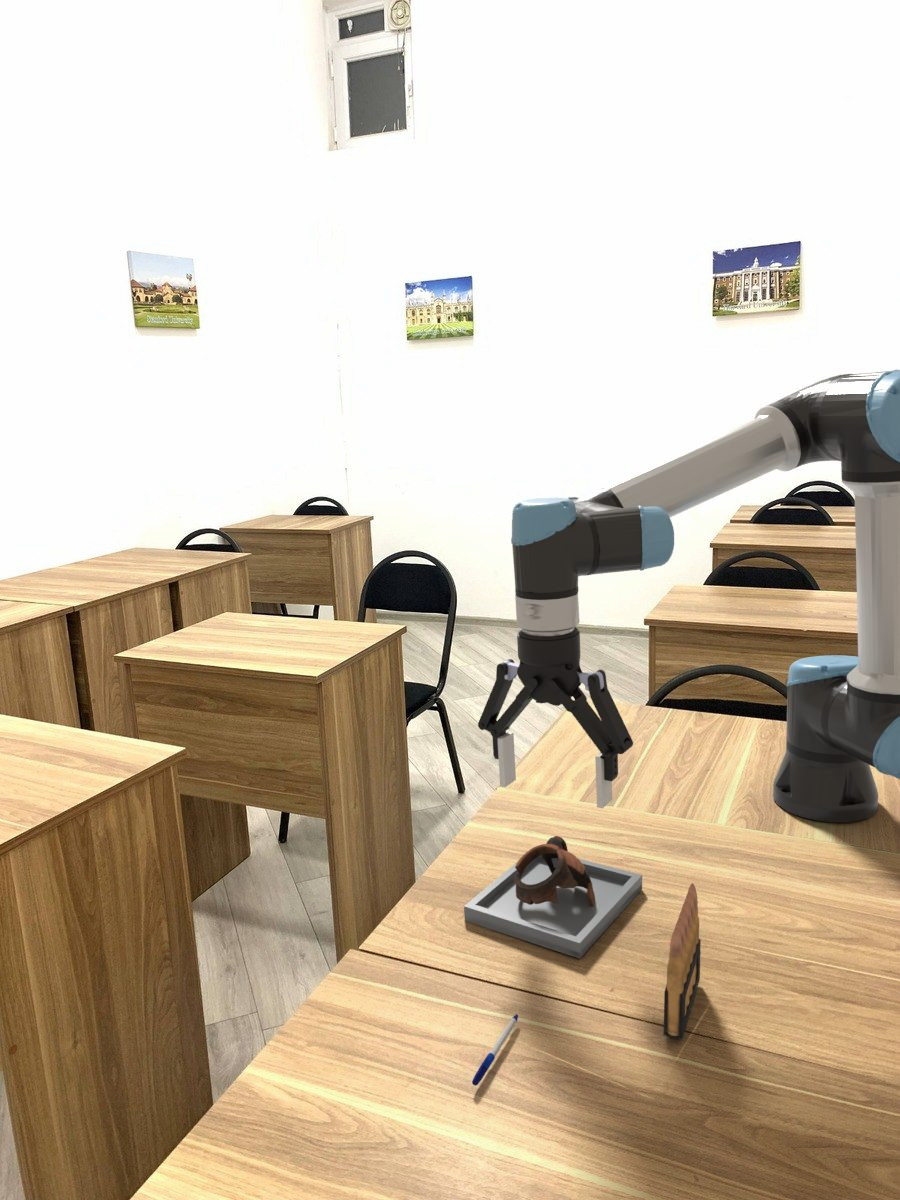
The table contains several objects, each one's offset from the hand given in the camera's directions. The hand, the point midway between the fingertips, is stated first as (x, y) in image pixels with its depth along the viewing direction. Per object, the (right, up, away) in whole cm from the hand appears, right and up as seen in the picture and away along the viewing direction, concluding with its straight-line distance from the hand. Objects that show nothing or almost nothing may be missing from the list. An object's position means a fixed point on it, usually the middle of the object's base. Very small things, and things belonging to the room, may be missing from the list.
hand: (554, 793), depth 115 cm
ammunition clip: (+11, -19, -17) cm, 28 cm away
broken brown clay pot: (0, -14, +3) cm, 15 cm away
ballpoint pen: (-8, -21, -23) cm, 32 cm away
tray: (0, -15, +3) cm, 15 cm away
